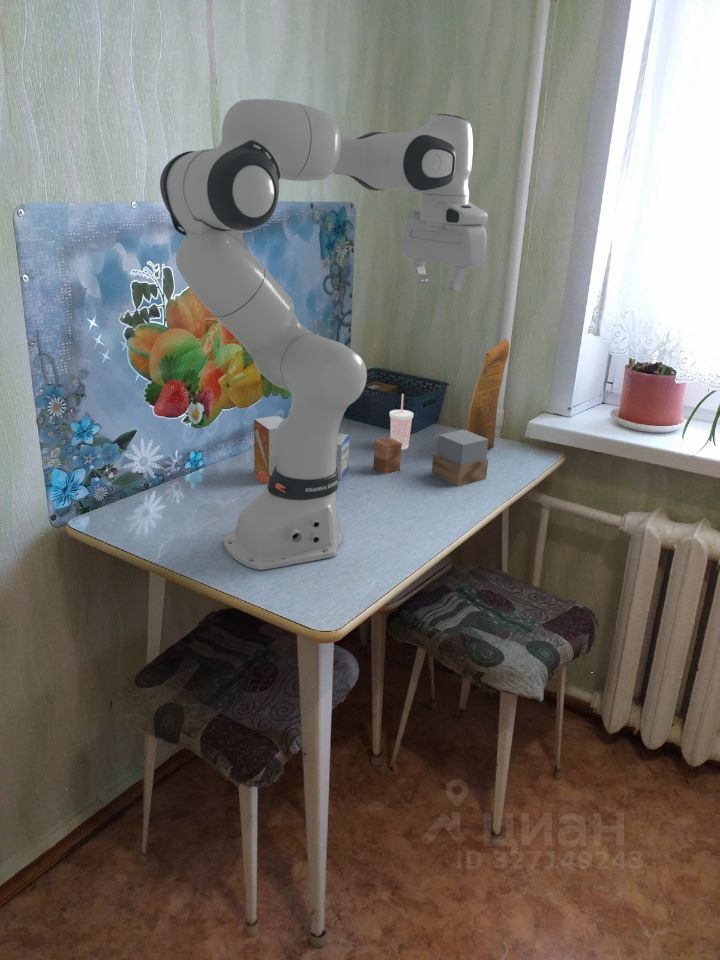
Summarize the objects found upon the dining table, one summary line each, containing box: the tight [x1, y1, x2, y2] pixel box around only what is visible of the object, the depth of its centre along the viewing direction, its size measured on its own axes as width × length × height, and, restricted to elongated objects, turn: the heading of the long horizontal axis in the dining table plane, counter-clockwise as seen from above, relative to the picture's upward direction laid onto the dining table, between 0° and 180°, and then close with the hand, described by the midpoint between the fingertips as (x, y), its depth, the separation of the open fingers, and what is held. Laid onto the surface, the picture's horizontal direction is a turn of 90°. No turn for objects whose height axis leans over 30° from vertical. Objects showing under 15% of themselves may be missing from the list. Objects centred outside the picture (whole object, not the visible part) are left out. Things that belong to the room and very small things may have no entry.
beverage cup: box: [389, 393, 415, 451], centre depth 193 cm, size 6×6×14 cm
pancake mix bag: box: [464, 338, 510, 451], centre depth 190 cm, size 7×19×28 cm, turn 147°
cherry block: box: [372, 437, 402, 475], centre depth 179 cm, size 4×4×7 cm
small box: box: [253, 415, 285, 477], centre depth 171 cm, size 8×6×13 cm
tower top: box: [436, 429, 488, 466], centre depth 175 cm, size 8×8×5 cm
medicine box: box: [336, 433, 350, 481], centre depth 175 cm, size 8×4×9 cm, turn 168°
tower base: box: [431, 453, 489, 487], centre depth 177 cm, size 9×9×5 cm
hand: (438, 286), depth 147 cm, fingers open, 8 cm apart
